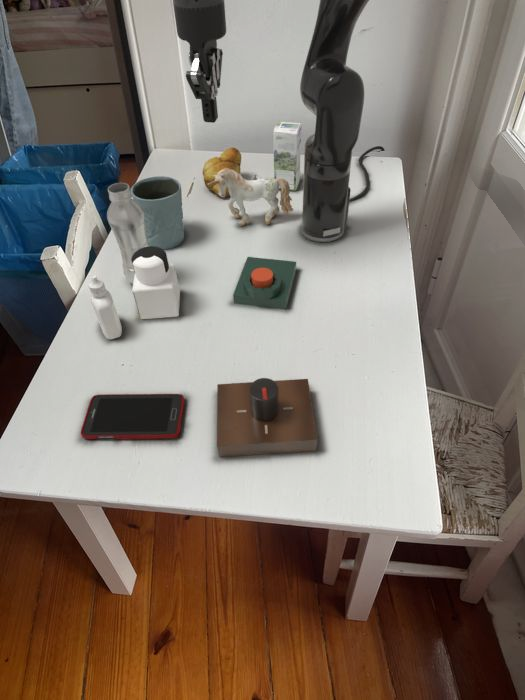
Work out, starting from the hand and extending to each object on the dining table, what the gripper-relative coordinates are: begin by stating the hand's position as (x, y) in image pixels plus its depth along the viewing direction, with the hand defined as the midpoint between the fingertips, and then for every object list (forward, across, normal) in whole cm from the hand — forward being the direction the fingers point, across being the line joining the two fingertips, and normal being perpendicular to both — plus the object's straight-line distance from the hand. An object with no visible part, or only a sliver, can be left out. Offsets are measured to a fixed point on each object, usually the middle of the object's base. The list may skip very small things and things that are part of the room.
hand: (211, 120), depth 83 cm
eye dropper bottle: (+27, -27, +14) cm, 41 cm away
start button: (+23, -13, -11) cm, 29 cm away
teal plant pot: (+27, +2, +14) cm, 31 cm away
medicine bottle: (+27, -19, +7) cm, 34 cm away
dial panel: (+27, -42, -17) cm, 52 cm away
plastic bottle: (+27, -12, +14) cm, 33 cm away
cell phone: (+27, -44, +2) cm, 52 cm away
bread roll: (+27, +26, +8) cm, 38 cm away
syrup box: (+27, +30, -8) cm, 41 cm away
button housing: (+27, -10, -11) cm, 31 cm away
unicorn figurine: (+27, +9, -4) cm, 29 cm away
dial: (+24, -41, -17) cm, 51 cm away
